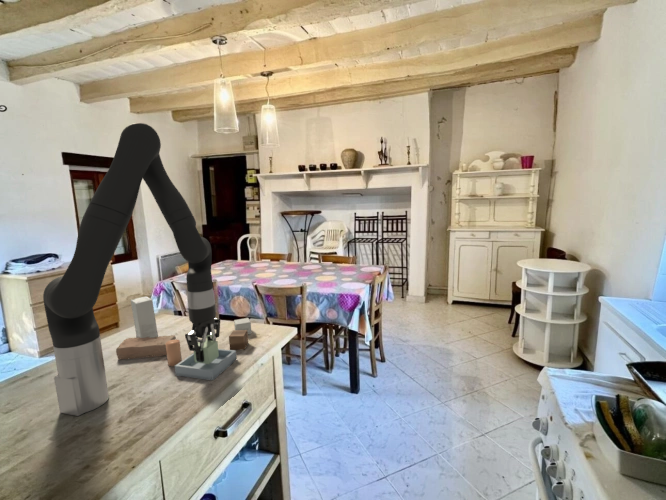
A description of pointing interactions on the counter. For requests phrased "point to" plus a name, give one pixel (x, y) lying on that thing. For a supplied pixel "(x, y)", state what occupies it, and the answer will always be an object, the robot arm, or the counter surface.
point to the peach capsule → (173, 352)
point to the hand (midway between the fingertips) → (206, 356)
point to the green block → (209, 351)
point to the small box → (243, 325)
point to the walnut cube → (238, 339)
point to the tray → (205, 366)
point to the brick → (143, 347)
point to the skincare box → (144, 317)
